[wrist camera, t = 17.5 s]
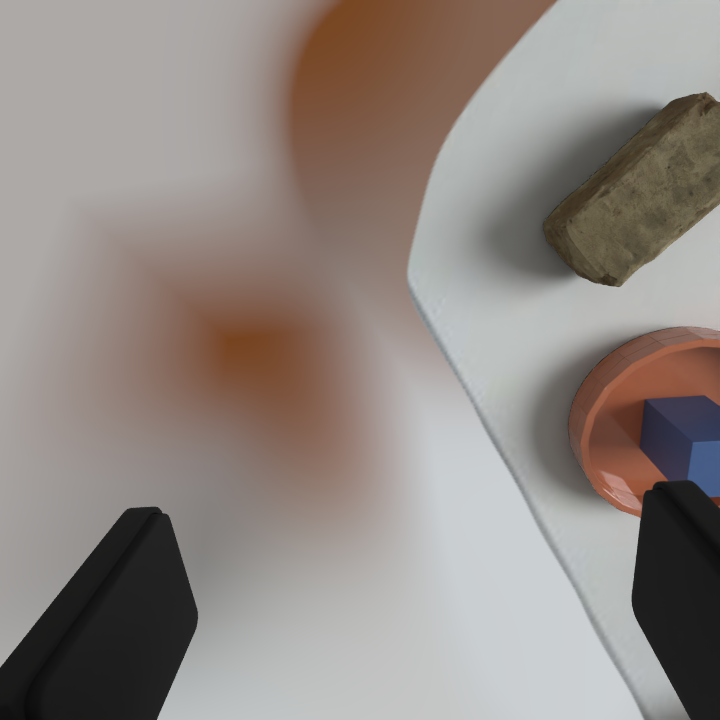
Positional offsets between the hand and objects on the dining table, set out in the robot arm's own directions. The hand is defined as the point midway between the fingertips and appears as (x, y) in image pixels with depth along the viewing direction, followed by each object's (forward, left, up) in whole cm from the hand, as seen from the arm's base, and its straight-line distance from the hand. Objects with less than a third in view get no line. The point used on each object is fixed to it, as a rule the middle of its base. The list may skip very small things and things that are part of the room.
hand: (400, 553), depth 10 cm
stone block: (+8, +14, -28) cm, 33 cm away
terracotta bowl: (+24, +5, -28) cm, 37 cm away
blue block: (+24, +5, -28) cm, 37 cm away
